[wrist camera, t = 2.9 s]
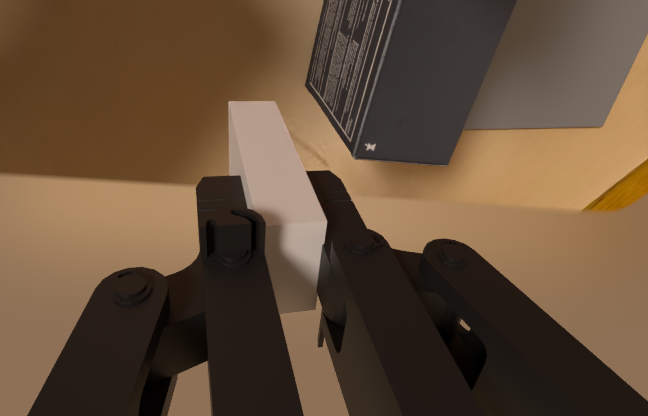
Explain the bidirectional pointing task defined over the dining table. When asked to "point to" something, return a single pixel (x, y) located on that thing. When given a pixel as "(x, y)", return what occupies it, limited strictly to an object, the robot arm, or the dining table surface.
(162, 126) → the dining table surface
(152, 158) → the dining table surface
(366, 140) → the small box
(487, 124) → the mat
